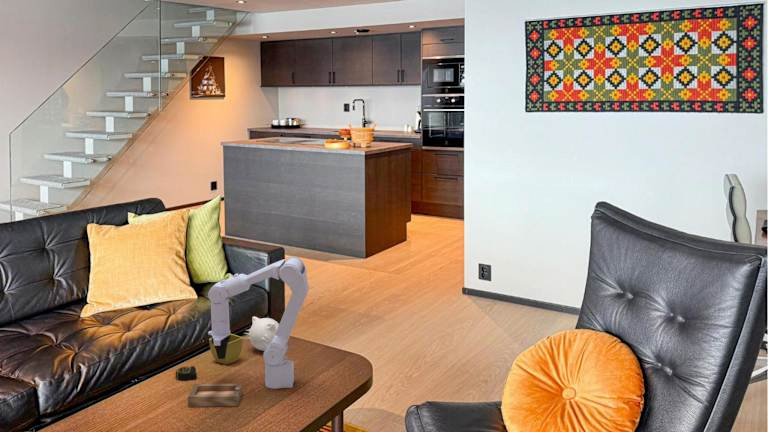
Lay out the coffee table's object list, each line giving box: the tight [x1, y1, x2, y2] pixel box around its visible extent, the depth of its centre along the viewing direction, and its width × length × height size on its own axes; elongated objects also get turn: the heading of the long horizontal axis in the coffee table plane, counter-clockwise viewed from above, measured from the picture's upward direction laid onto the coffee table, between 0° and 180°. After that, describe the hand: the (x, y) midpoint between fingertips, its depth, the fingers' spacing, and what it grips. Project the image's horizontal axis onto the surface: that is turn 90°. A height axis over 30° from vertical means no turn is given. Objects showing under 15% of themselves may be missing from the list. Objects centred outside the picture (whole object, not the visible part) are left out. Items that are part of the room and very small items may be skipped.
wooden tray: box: [187, 383, 243, 408], centre depth 211 cm, size 15×9×4 cm, turn 93°
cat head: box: [243, 316, 280, 352], centre depth 253 cm, size 15×13×12 cm
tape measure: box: [175, 365, 198, 382], centre depth 228 cm, size 7×7×4 cm
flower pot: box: [208, 332, 244, 366], centre depth 242 cm, size 9×9×9 cm
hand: (221, 358), depth 223 cm, fingers closed
